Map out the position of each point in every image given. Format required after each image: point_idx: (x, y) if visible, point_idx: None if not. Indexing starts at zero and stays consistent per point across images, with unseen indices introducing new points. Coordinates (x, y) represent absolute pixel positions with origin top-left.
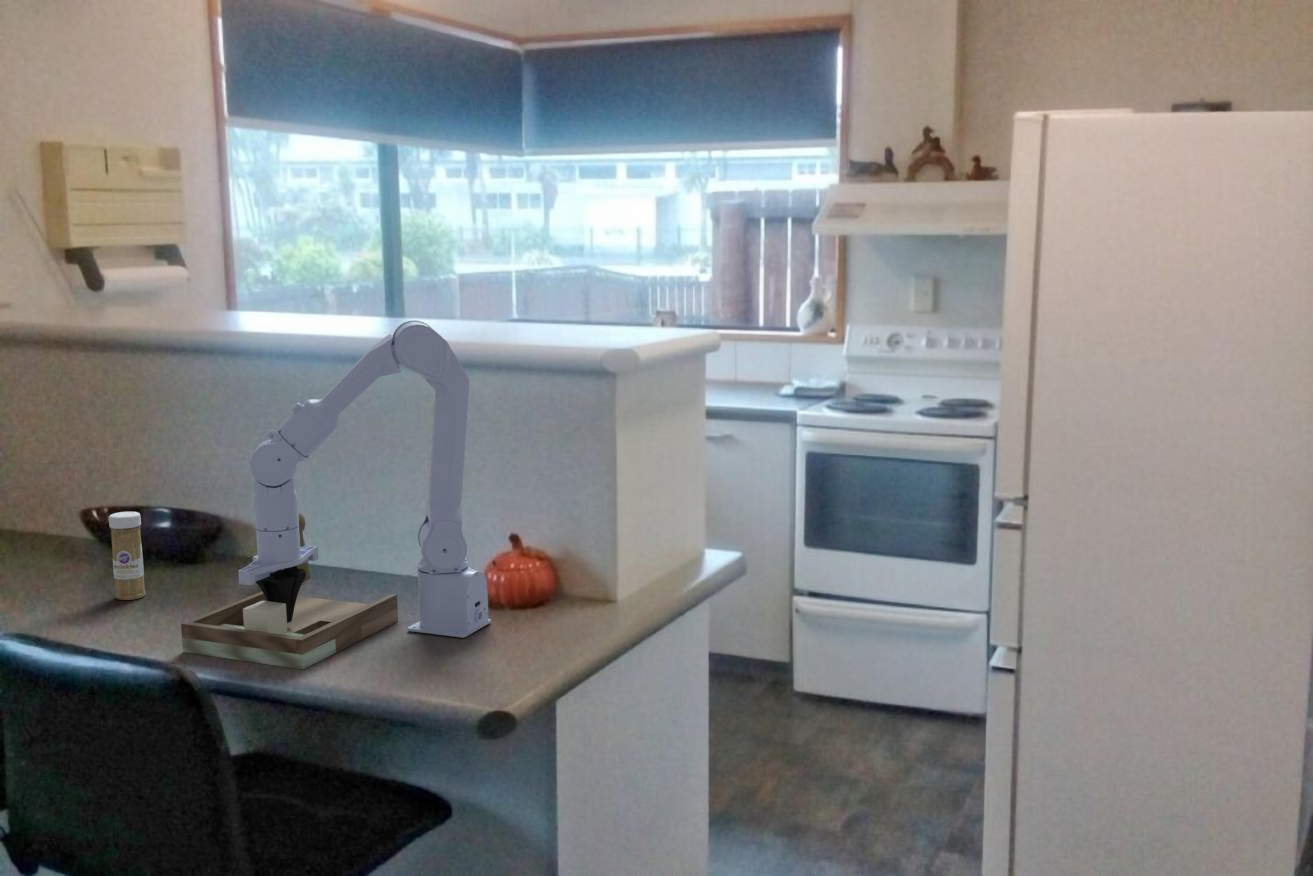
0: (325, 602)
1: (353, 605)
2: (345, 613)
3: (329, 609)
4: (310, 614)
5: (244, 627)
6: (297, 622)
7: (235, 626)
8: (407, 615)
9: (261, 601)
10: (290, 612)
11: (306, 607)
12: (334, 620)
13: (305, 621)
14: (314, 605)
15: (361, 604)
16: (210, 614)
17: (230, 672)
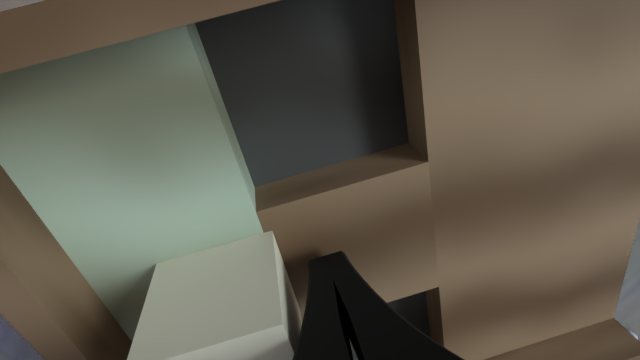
0: (629, 134)
1: (610, 236)
2: (527, 283)
3: (552, 214)
4: (480, 215)
5: (148, 295)
6: (387, 257)
7: (203, 116)
8: (627, 282)
9: (270, 331)
10: (348, 334)
11: (551, 132)
12: (456, 312)
13: (410, 264)
14: (583, 133)
15: (625, 244)
16: (56, 49)
17: (32, 348)
